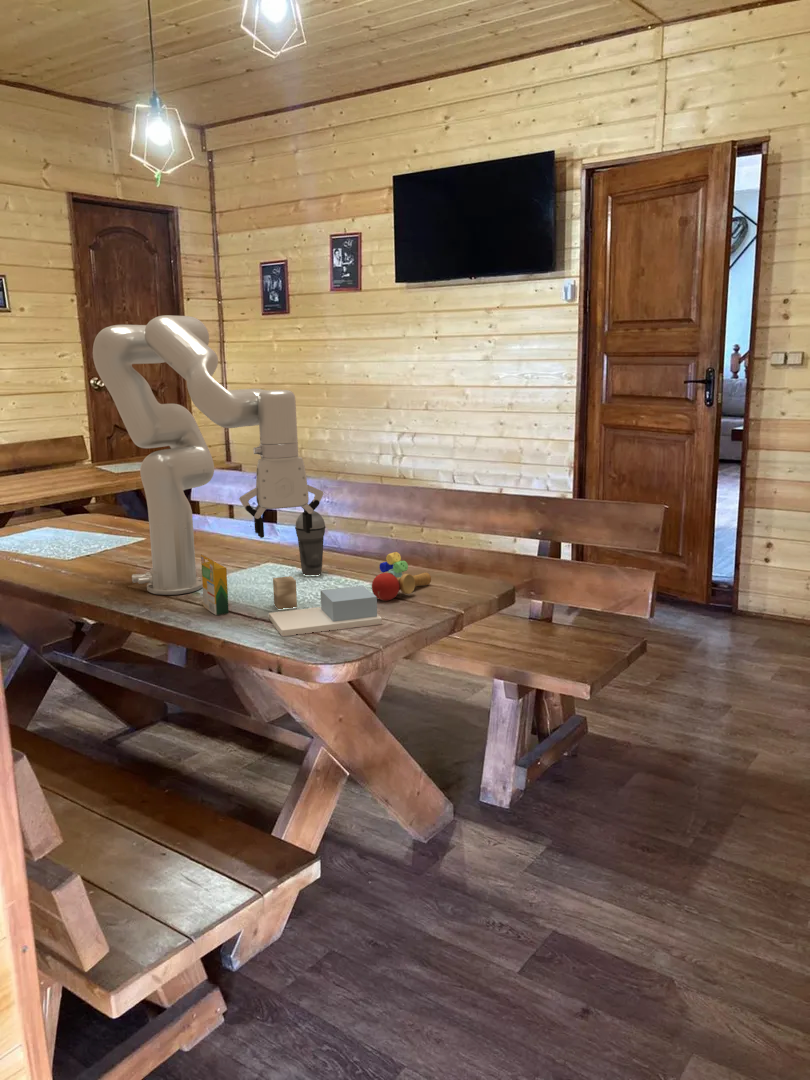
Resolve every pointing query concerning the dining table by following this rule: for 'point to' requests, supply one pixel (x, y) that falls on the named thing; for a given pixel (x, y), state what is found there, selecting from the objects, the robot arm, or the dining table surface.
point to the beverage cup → (311, 544)
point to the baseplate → (314, 621)
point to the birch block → (285, 592)
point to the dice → (397, 567)
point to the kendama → (397, 584)
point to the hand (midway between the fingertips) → (284, 534)
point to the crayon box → (214, 586)
